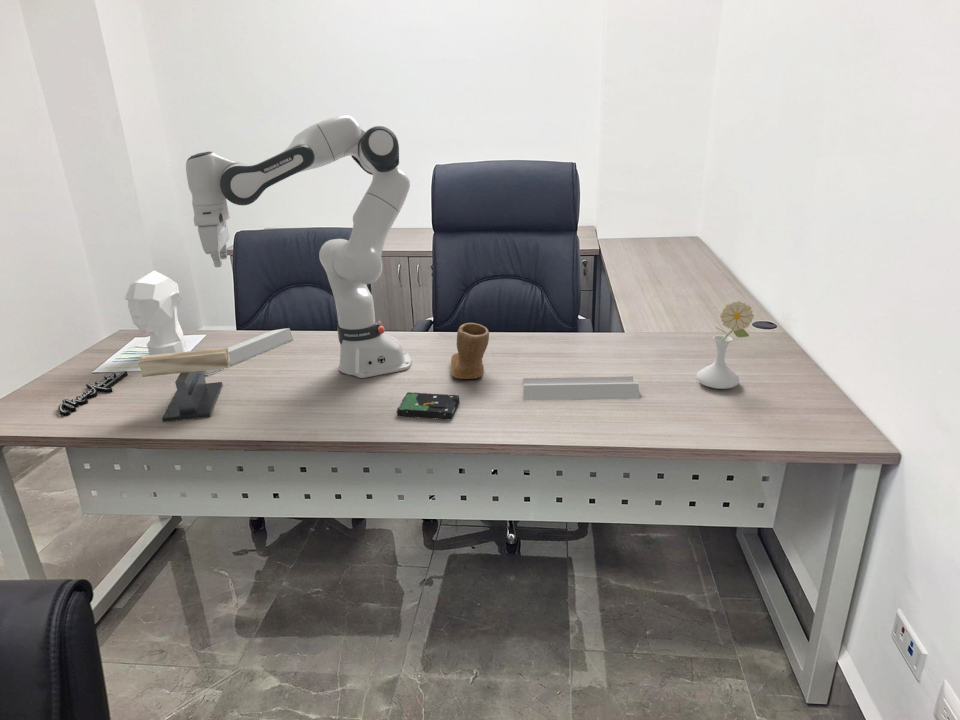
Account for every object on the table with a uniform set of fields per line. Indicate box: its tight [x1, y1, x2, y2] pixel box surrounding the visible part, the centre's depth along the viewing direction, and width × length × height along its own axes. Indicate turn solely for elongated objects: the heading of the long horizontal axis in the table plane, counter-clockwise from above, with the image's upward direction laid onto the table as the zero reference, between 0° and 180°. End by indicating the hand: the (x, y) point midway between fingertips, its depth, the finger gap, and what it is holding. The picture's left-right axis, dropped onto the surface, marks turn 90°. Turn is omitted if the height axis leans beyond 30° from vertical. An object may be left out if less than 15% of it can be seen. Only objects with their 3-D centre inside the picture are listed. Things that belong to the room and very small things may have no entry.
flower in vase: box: [695, 300, 755, 390], centre depth 172 cm, size 13×11×25 cm
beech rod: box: [138, 347, 231, 378], centre depth 172 cm, size 4×22×4 cm, turn 102°
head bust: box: [124, 270, 187, 355], centre depth 205 cm, size 16×19×28 cm
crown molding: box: [522, 376, 641, 401], centre depth 176 cm, size 31×12×4 cm, turn 88°
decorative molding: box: [203, 327, 294, 376], centre depth 209 cm, size 34×5×10 cm
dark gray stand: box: [161, 371, 224, 423], centre depth 175 cm, size 12×20×10 cm, turn 12°
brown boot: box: [450, 322, 490, 380], centre depth 188 cm, size 15×12×15 cm
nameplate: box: [58, 370, 129, 417], centre depth 184 cm, size 28×2×10 cm
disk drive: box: [396, 392, 460, 421], centre depth 169 cm, size 10×3×15 cm
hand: (221, 262), depth 180 cm, fingers open, 8 cm apart
